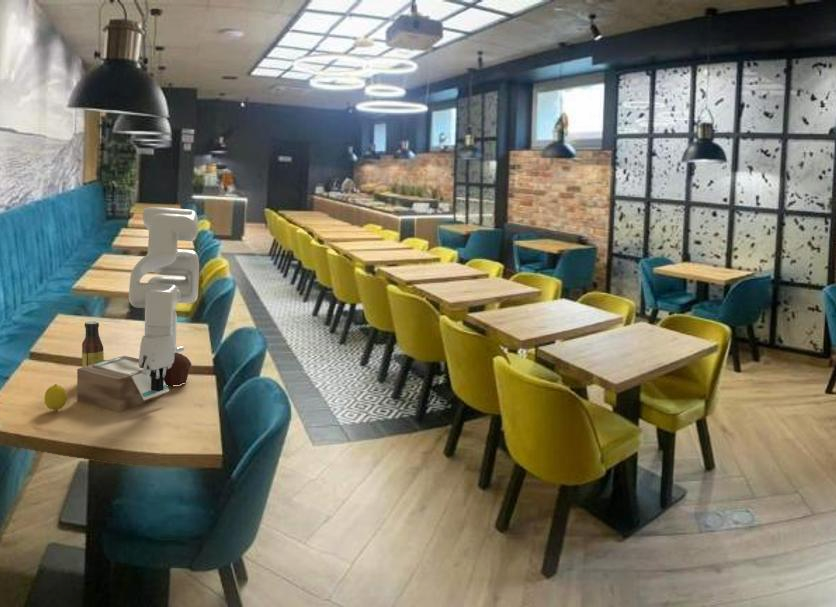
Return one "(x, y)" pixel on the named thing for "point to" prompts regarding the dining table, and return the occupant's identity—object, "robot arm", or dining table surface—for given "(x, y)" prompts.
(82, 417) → the dining table surface
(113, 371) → the brown box with strip
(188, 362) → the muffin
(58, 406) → the lemon
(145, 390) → the stub
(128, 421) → the dining table surface
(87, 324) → the sauce bottle
